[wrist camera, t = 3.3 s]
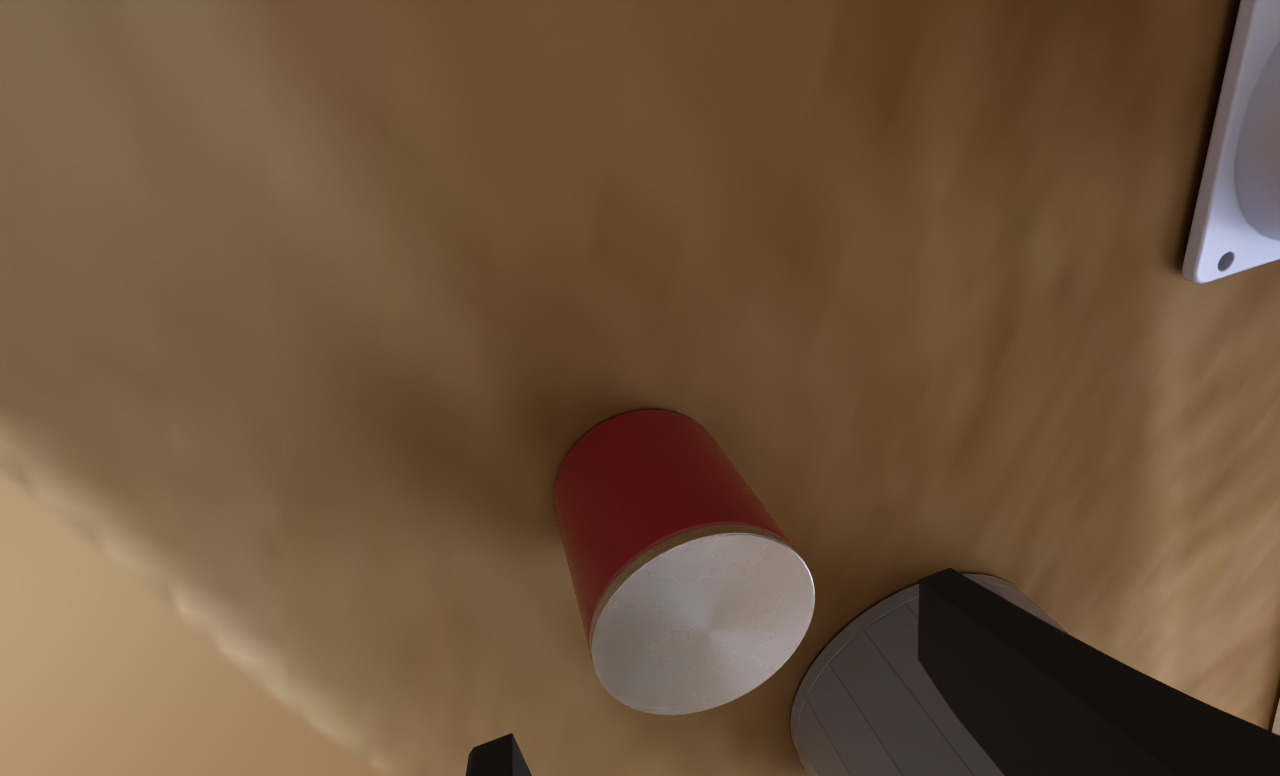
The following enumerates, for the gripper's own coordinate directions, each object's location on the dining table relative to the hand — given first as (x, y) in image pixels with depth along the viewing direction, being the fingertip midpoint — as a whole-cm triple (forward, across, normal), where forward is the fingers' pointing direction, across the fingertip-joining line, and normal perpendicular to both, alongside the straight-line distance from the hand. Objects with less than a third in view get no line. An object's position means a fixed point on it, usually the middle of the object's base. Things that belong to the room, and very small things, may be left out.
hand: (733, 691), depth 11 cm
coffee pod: (+6, 0, 0) cm, 6 cm away
